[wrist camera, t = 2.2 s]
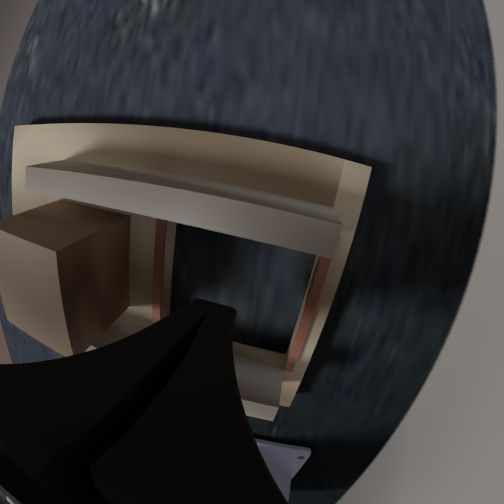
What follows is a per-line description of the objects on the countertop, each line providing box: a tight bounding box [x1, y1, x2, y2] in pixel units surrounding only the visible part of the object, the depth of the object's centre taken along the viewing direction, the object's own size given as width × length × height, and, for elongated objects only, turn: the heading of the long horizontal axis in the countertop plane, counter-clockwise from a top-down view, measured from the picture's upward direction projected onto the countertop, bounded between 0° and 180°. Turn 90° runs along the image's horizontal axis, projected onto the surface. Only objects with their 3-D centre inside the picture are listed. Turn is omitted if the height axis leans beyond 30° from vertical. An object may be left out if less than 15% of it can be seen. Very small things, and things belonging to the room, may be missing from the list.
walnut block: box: [0, 200, 131, 357], centre depth 10 cm, size 4×4×4 cm
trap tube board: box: [12, 123, 372, 421], centre depth 11 cm, size 12×18×4 cm, turn 79°
